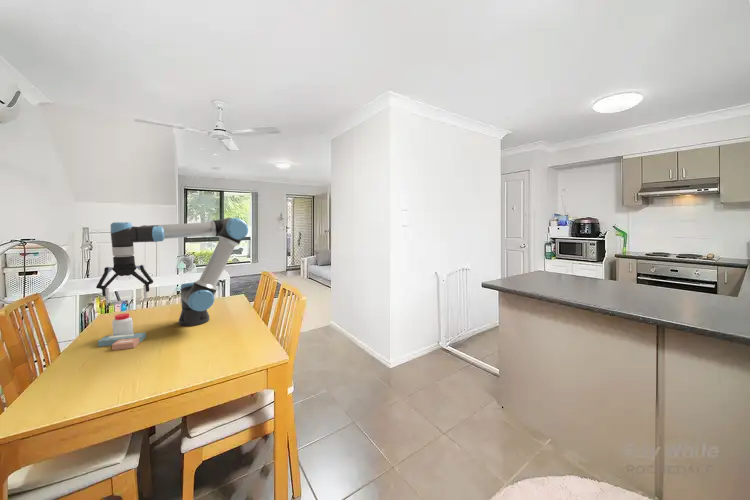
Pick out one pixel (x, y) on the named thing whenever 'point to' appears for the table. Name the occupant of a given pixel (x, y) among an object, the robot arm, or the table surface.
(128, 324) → the pill bottle
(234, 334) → the table surface
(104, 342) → the blue labeled box
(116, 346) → the pink labeled box
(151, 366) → the table surface
